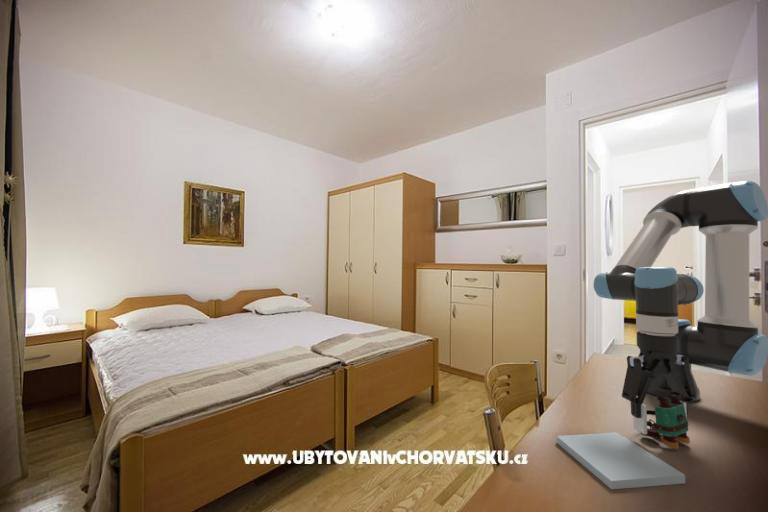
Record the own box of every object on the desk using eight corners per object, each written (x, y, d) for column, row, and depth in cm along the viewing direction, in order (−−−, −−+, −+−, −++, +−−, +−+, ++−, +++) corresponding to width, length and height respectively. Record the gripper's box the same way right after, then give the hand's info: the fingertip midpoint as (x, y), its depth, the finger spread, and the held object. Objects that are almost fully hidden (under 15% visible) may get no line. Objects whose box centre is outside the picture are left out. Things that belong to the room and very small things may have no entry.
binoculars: (642, 383, 80) (692, 393, 71) (648, 426, 78) (700, 443, 69) (620, 388, 76) (670, 400, 67) (626, 434, 75) (678, 453, 66)
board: (616, 438, 73) (616, 432, 73) (685, 483, 58) (685, 475, 58) (556, 442, 71) (556, 436, 71) (611, 489, 56) (611, 480, 56)
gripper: (628, 338, 68) (631, 442, 68) (717, 334, 71) (720, 435, 70) (600, 330, 76) (603, 424, 75) (682, 328, 78) (685, 418, 77)
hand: (660, 429), depth 73 cm, fingers closed on binoculars, 9 cm apart
